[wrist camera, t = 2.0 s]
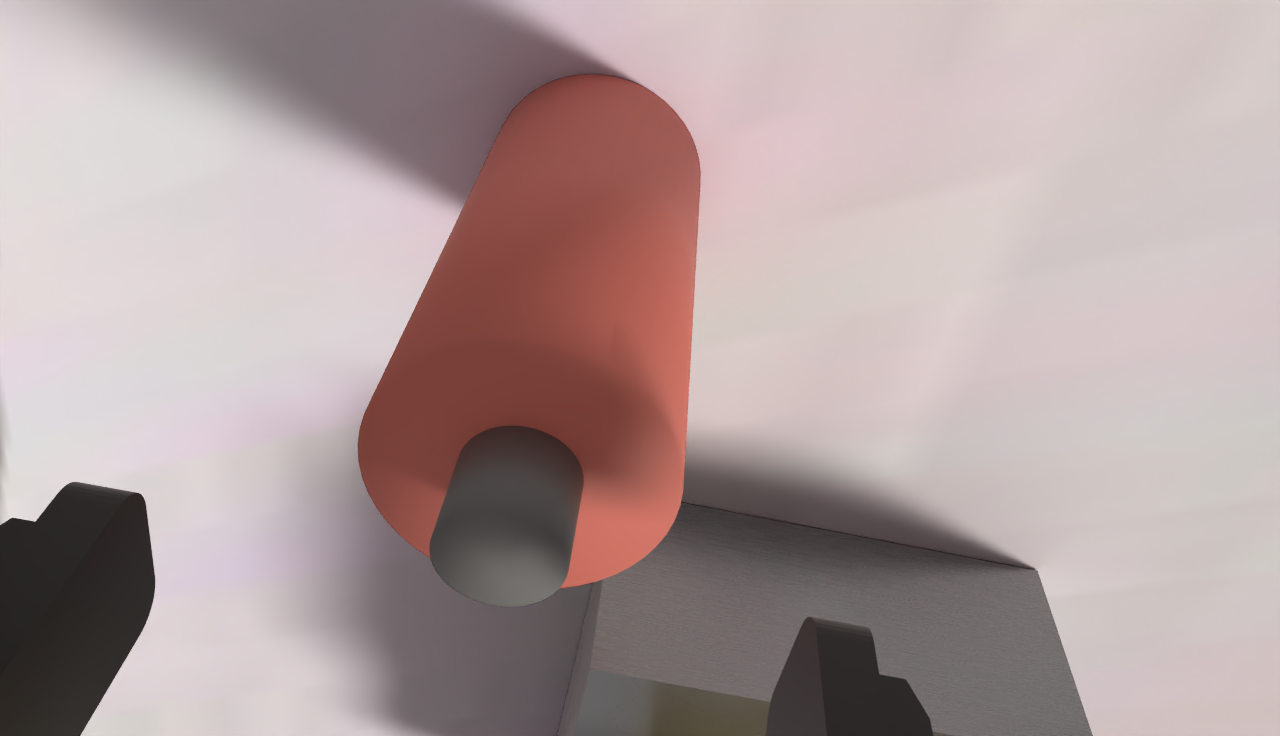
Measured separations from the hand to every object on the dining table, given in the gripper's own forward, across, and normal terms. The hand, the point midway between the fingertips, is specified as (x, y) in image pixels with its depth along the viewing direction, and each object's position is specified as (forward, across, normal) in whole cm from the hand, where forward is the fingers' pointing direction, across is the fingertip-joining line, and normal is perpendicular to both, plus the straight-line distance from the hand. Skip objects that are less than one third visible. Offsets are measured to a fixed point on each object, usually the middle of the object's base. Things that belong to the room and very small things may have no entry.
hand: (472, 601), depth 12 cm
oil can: (+12, 0, 0) cm, 12 cm away
